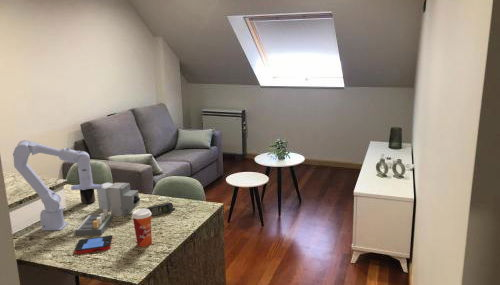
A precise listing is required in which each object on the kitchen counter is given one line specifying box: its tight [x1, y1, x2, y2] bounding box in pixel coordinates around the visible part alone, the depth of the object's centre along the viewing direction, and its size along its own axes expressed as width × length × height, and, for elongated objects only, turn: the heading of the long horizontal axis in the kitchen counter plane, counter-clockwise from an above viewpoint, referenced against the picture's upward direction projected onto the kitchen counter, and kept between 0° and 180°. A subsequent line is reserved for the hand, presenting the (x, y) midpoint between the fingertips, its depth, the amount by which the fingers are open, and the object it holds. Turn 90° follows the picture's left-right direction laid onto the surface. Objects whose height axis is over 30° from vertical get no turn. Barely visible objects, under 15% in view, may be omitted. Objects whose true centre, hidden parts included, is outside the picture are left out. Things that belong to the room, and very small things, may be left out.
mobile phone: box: [145, 201, 176, 217], centre depth 207 cm, size 5×3×15 cm
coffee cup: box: [131, 208, 153, 248], centre depth 175 cm, size 8×8×15 cm
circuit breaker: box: [108, 182, 141, 217], centre depth 207 cm, size 8×14×15 cm, turn 78°
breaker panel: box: [74, 209, 114, 236], centre depth 193 cm, size 12×17×6 cm
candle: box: [76, 169, 96, 204], centre depth 221 cm, size 8×7×20 cm
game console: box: [74, 234, 114, 255], centre depth 176 cm, size 14×13×2 cm
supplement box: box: [96, 181, 114, 212], centre depth 215 cm, size 7×7×13 cm
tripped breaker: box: [93, 220, 99, 228], centre depth 186 cm, size 2×2×3 cm
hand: (89, 203), depth 198 cm, fingers closed
